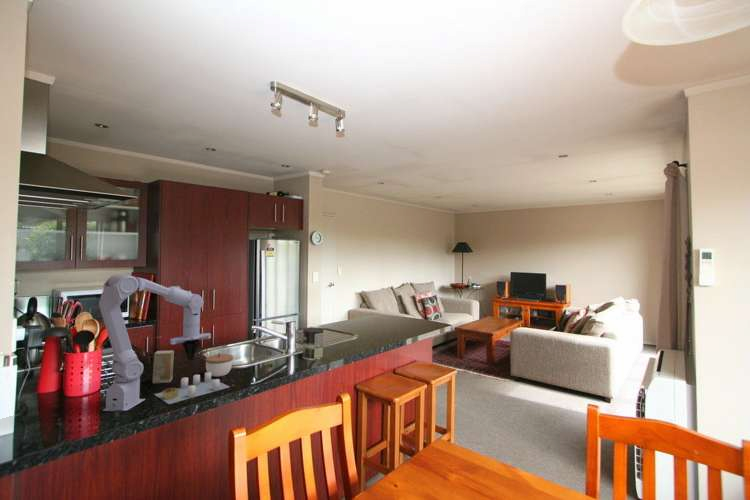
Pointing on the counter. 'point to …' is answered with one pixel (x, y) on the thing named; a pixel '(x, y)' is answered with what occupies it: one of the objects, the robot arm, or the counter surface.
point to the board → (195, 388)
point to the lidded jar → (219, 364)
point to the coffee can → (312, 343)
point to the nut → (170, 393)
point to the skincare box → (163, 366)
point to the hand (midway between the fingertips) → (190, 359)
